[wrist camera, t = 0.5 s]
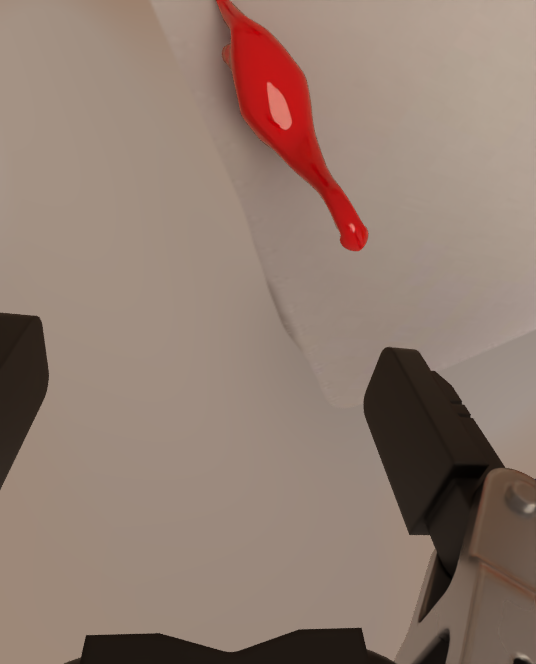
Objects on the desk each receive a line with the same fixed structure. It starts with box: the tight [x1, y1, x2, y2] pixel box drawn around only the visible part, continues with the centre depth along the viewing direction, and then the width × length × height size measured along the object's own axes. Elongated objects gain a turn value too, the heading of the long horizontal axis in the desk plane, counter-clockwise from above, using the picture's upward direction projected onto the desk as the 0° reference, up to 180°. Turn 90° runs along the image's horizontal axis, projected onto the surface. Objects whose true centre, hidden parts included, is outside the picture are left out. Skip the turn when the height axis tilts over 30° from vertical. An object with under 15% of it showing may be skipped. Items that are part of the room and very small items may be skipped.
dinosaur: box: [216, 0, 368, 251], centre depth 22 cm, size 4×15×12 cm, turn 28°
